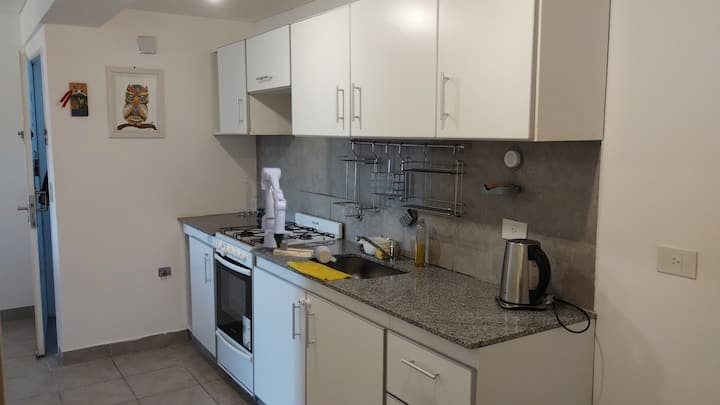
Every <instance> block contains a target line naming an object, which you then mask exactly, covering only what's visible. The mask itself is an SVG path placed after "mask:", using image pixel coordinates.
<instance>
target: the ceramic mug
mask: <svg viewBox="0 0 720 405" xmlns="http://www.w3.org/2000/svg"><path fill="white" fill-rule="evenodd" d="M314 255H315V258H316V259H317V260H318V262H320V263H321V264H327V263H329V262H333V263H336V261H337V258H336V257H334V256H332V253H331V251H330V250H329V248H328V247H327V246H325V245H319V246H318V247H316V249H315V250H314Z"/></svg>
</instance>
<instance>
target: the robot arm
mask: <svg viewBox="0 0 720 405" xmlns="http://www.w3.org/2000/svg"><path fill="white" fill-rule="evenodd" d="M281 176H282V170H281V168H280V167H262V168H261V183H262V184H263V185H264V186H265V205H266V213H265V214H264V215H262V217H261V228H262V230H263V231H264V236H263V238H264V239H263V240H264V241H263V244H262V246H261V247H262V248H270V249H271V248H272V249H276V248H281V242H282V241H284V240H283V239H284V237H285V236H290V237H293V235H294V231H290V230H285V228H286V227H285V226H286V211H288V201H287V200H286V198H285V197H284V192H283V190H282V189H281V188H280V182H279V181H280V180H281V179H280V178H281Z"/></svg>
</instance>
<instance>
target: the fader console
mask: <svg viewBox="0 0 720 405" xmlns="http://www.w3.org/2000/svg"><path fill="white" fill-rule="evenodd" d="M272 255H275V256H285V257H286V256H287V257H299V258H308V257H310V258H312V256H313V255H314V249H302V248H291V247H288V249H287V250H281V247H280V248H277V247H276V248H274V250H273V251H272Z"/></svg>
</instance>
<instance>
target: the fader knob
mask: <svg viewBox="0 0 720 405" xmlns="http://www.w3.org/2000/svg"><path fill="white" fill-rule="evenodd" d="M280 248H281V250H287V249H288V248H289V240H288V241H286V240H282V242H281V245H280Z"/></svg>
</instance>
